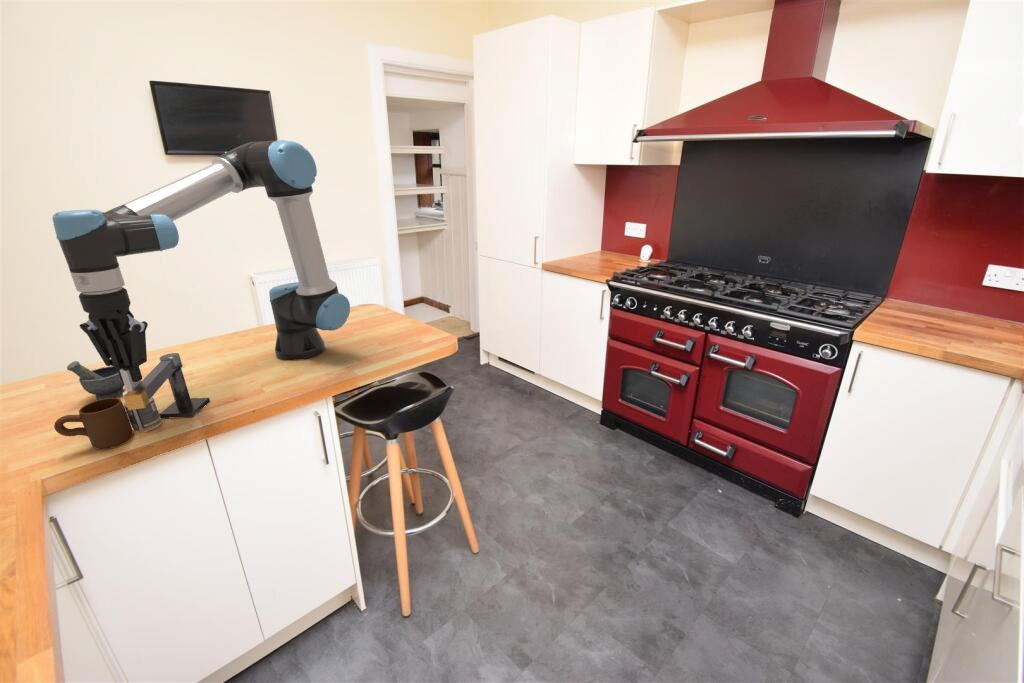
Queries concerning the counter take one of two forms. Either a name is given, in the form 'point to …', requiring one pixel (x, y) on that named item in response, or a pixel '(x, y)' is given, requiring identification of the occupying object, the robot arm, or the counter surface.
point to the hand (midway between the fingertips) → (136, 394)
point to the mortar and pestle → (99, 380)
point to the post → (182, 398)
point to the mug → (100, 423)
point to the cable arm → (152, 382)
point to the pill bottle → (144, 416)
